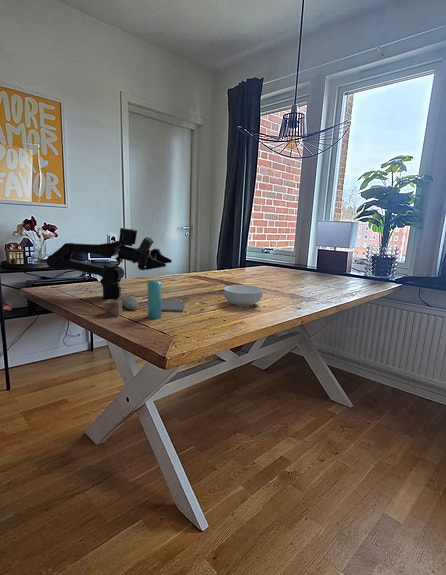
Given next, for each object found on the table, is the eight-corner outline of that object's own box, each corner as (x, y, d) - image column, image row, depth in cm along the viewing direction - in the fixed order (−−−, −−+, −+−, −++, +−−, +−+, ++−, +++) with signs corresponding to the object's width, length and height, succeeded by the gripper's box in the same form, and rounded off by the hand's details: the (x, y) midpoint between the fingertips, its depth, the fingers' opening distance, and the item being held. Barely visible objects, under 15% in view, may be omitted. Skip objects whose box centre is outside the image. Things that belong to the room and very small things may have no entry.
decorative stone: (127, 312, 124) (127, 303, 123) (117, 302, 137) (117, 294, 136) (143, 310, 127) (143, 302, 126) (132, 301, 140) (132, 293, 139)
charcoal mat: (148, 310, 126) (148, 308, 126) (154, 302, 138) (154, 300, 138) (182, 311, 126) (182, 309, 126) (185, 303, 139) (185, 301, 139)
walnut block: (104, 316, 117) (104, 302, 116) (108, 312, 122) (108, 299, 121) (118, 316, 117) (118, 303, 116) (122, 312, 122) (122, 299, 121)
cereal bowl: (227, 298, 151) (228, 283, 150) (263, 301, 148) (264, 286, 147) (219, 307, 135) (220, 290, 134) (259, 311, 132) (261, 294, 131)
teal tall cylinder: (146, 318, 116) (146, 282, 113) (148, 314, 121) (148, 280, 118) (160, 319, 116) (160, 282, 114) (162, 315, 121) (162, 280, 118)
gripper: (127, 238, 128) (165, 247, 127) (143, 233, 146) (177, 241, 145) (123, 266, 131) (161, 275, 130) (139, 258, 149) (172, 266, 148)
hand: (168, 263), depth 139 cm, fingers open, 9 cm apart
